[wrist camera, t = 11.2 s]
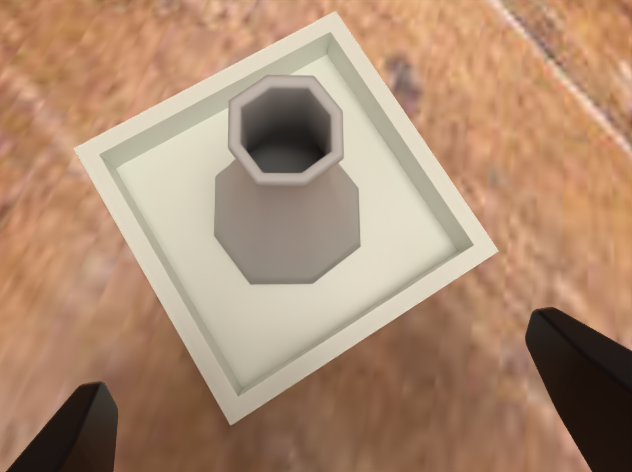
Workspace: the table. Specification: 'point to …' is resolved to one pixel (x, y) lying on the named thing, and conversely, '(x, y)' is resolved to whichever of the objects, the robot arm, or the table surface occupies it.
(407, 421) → the table surface
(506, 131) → the table surface
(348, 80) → the tray
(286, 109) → the flask
